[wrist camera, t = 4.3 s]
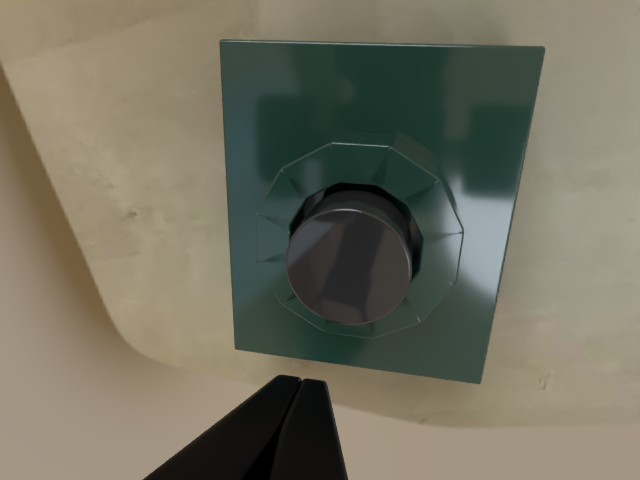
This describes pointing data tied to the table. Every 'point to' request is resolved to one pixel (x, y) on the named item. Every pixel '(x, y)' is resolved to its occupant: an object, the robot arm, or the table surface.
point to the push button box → (377, 187)
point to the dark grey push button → (351, 258)
